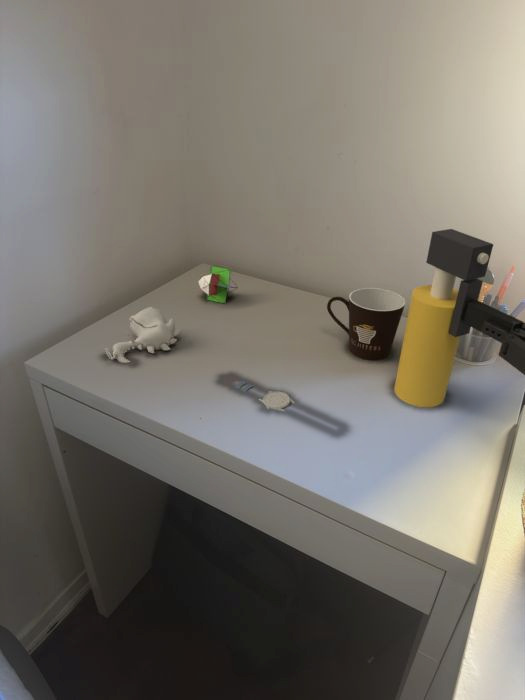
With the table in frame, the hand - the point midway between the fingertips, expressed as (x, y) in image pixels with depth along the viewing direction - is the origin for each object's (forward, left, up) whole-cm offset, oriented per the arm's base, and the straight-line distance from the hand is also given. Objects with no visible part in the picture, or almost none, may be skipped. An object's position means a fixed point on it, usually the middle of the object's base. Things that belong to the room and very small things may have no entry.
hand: (469, 311), depth 60 cm
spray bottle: (0, -5, -16) cm, 17 cm away
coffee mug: (-1, -19, -16) cm, 25 cm away
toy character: (+32, -34, -16) cm, 50 cm away
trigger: (0, -1, -3) cm, 4 cm away
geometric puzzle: (+13, -48, -16) cm, 52 cm away
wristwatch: (+19, -12, -16) cm, 28 cm away
